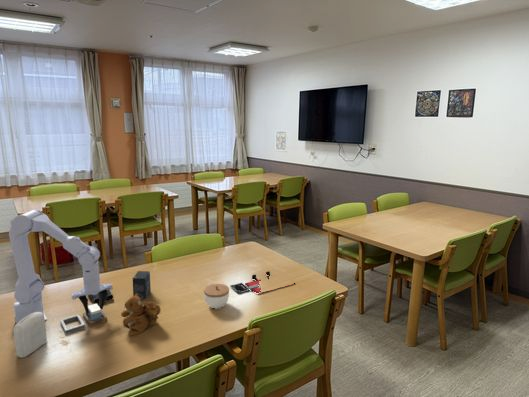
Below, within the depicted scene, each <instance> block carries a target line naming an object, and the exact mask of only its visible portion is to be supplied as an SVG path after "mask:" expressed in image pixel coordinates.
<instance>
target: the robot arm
mask: <svg viewBox="0 0 529 397" xmlns="http://www.w3.org/2000/svg"><path fill="white" fill-rule="evenodd" d="M32 232H33V233H37V232H44V233H45V234H46V235H49V236H50V237H52V238H53V239H55V240H57V241H58V242H60V243H61V244H62V248H63V249H64V250H65V251H67V252H68V253H70V254H71V255H73V256H74V257H76V258H77V259H78V263H79V264H80V266H81V268H82V278H83V288H82V289H79V290H78V291H75V292H72V293H71V294H70V295H71V299H72V300H73V301H74V300H76V299H79V301H80V302H81V303H82V305H83V308H84V311H85V312H86V313H87V314H88V313H89V310H88V306H89V299H88V297H87V296H88V295H91V294H92V295H95V294H98V295H99V300H98V302H99V303H98V306H99V307H100V309H101V310H103V309H104V305H105V302H106V301H105V299H106V297H107V295H108V292H107V290H113V288H114V287H113V284H112V283H106V284H105V283H104V284H101V276H100V265H99V259H100V257H101V252H100V250H99V249H98V248H97V247H96V246H91V245H88V244H87V243H85V242H83V241H82V240H81V238H80V237H79V236H75V235H71V236H70V235H69V234H67V233H66V232H65V231H64V230H63V229H61V227H59V226H58V225H57V224H55V223H54V222H53V221H52V220H50V219H49V216H48V215H47V214H46V213H43V212H42V211H41V210H40V209H38V208H37V209H31V210H29V211H27V212H24V213H22V214H19V215H16V216H15V217H14V218H13V219H12V220H10V229H9V232H8V237H9V238H8V239H9V242H10V246H11V251H12V255H13V261H14V264H15V268H16V273H17V276H18V277H17V280H16V283H15V285H14V288H15V291H14V294H13V296H14V299H15V300H16V302H13V311H14V323H15V322H16V324H17V323H18V322H19V321H20V320H22V319H23V318H24V317H26V316H28V315H30V314H32V313H34V312H42V313H43V315H44V318H45V322H46V321H47V320H48V319H47V316H46V314H45V311H44V303H43V296H42V295H43V293H42V292H43V291H44V289H45V283H44V281H43V280H42V278H41V276H40V274H38V273H36V270H35V266H34V260H33V256H32V251H31V247H30V243H29V238H28V235H29V234H30V233H32ZM104 301H105V302H104ZM85 312H84V313H85ZM16 324H15V325H16Z"/></svg>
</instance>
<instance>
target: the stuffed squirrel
mask: <svg viewBox="0 0 529 397" xmlns="http://www.w3.org/2000/svg"><path fill="white" fill-rule="evenodd" d="M123 307H124V308H125V310H122V312H121V313H120V316H121V317H122V318H123V320H122V324H123V325H125V326H127V327H128V328H129V330H128V332H127V335H128V336H135V335H138V334H141V333H142V332H143V331H145V329H146V328H147V327H151V326H153V325H155V324H156V323H157V321H158V319H159V318H158V316H159V315H160V314H161V309H162V308H161V306H160V305H159V304H157V303H156V302H154V301H148V302H146V303H144V304H142V300H140V298H139V297H138V294H135V296H133V295H132V296H131V297H130V298H129V299H127V300H126V301H125V302H124V306H123Z"/></svg>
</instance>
